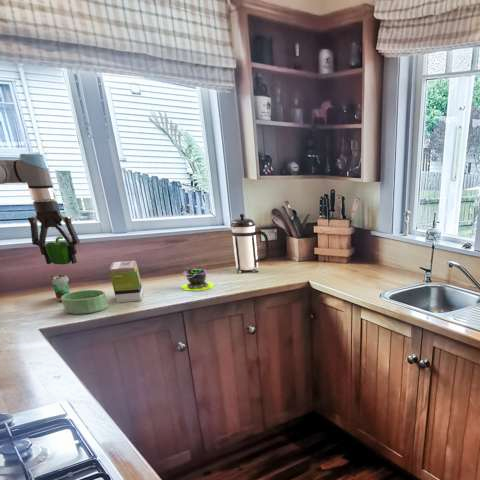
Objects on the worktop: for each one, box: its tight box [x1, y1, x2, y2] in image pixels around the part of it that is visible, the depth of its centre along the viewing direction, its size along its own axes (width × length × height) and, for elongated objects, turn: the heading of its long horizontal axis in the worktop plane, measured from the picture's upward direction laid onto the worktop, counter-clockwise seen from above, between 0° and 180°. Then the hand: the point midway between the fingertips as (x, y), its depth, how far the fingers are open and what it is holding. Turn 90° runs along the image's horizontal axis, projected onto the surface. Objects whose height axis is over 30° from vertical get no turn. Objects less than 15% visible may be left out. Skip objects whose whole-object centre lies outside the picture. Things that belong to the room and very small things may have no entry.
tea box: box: [108, 260, 144, 304], centre depth 203 cm, size 15×10×15 cm
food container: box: [50, 273, 70, 303], centre depth 201 cm, size 12×6×10 cm, turn 34°
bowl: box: [61, 289, 109, 315], centre depth 189 cm, size 15×15×6 cm
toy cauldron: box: [180, 262, 215, 292], centre depth 222 cm, size 15×15×11 cm
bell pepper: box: [44, 235, 72, 266], centre depth 177 cm, size 8×8×10 cm
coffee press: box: [227, 213, 270, 274], centre depth 251 cm, size 17×16×30 cm
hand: (62, 263), depth 179 cm, fingers closed on bell pepper, 8 cm apart
